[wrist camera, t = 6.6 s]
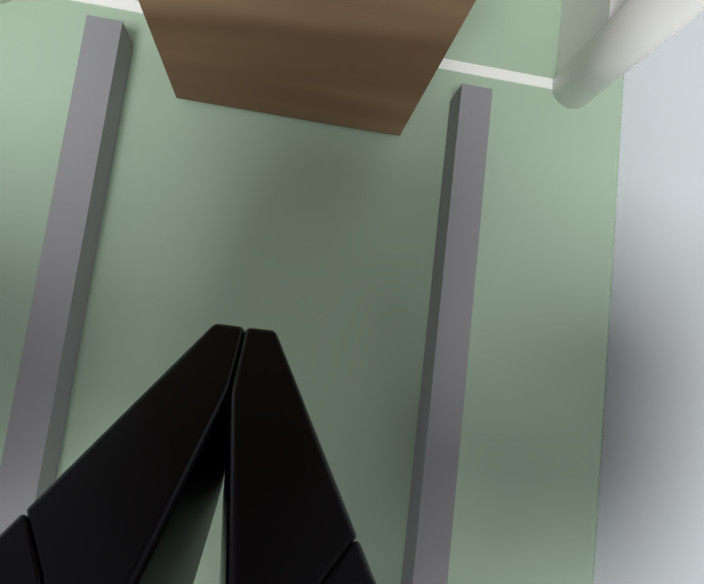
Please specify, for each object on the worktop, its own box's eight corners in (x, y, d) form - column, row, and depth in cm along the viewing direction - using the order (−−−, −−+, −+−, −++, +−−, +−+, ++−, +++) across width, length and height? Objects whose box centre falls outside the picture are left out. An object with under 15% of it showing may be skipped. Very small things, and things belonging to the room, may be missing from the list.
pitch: (569, 733, 14) (606, 780, 13) (-217, 699, 12) (-292, 751, 10) (623, -102, 17) (658, -148, 16) (-2, -247, 15) (-35, -317, 13)
